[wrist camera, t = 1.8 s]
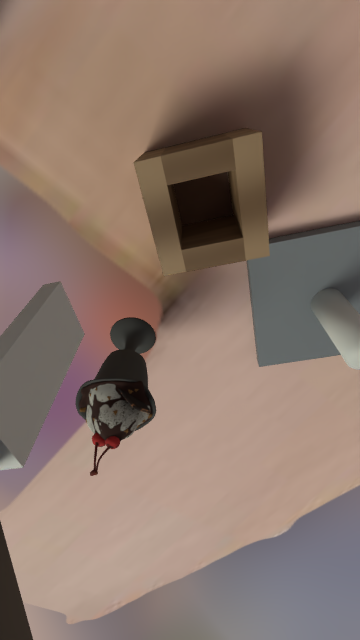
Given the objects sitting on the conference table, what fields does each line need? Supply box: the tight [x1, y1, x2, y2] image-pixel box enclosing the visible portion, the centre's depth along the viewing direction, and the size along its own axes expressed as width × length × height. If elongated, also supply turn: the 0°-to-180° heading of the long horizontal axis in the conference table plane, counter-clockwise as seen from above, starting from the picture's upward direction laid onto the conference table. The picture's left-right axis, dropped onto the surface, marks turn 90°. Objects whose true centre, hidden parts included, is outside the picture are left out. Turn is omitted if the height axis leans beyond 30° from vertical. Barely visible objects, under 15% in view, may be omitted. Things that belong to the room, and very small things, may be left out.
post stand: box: [247, 221, 360, 370], centre depth 28 cm, size 14×14×9 cm
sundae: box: [76, 318, 156, 476], centre depth 29 cm, size 7×7×15 cm
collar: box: [134, 128, 270, 276], centre depth 24 cm, size 8×8×6 cm
